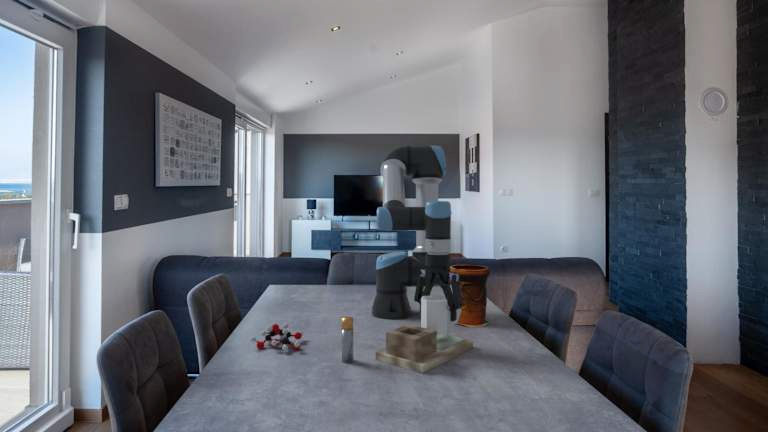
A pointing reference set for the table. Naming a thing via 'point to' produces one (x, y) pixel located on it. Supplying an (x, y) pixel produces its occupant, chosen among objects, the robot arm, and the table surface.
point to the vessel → (472, 293)
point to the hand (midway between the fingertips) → (437, 328)
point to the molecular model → (281, 333)
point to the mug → (435, 313)
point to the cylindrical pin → (347, 339)
